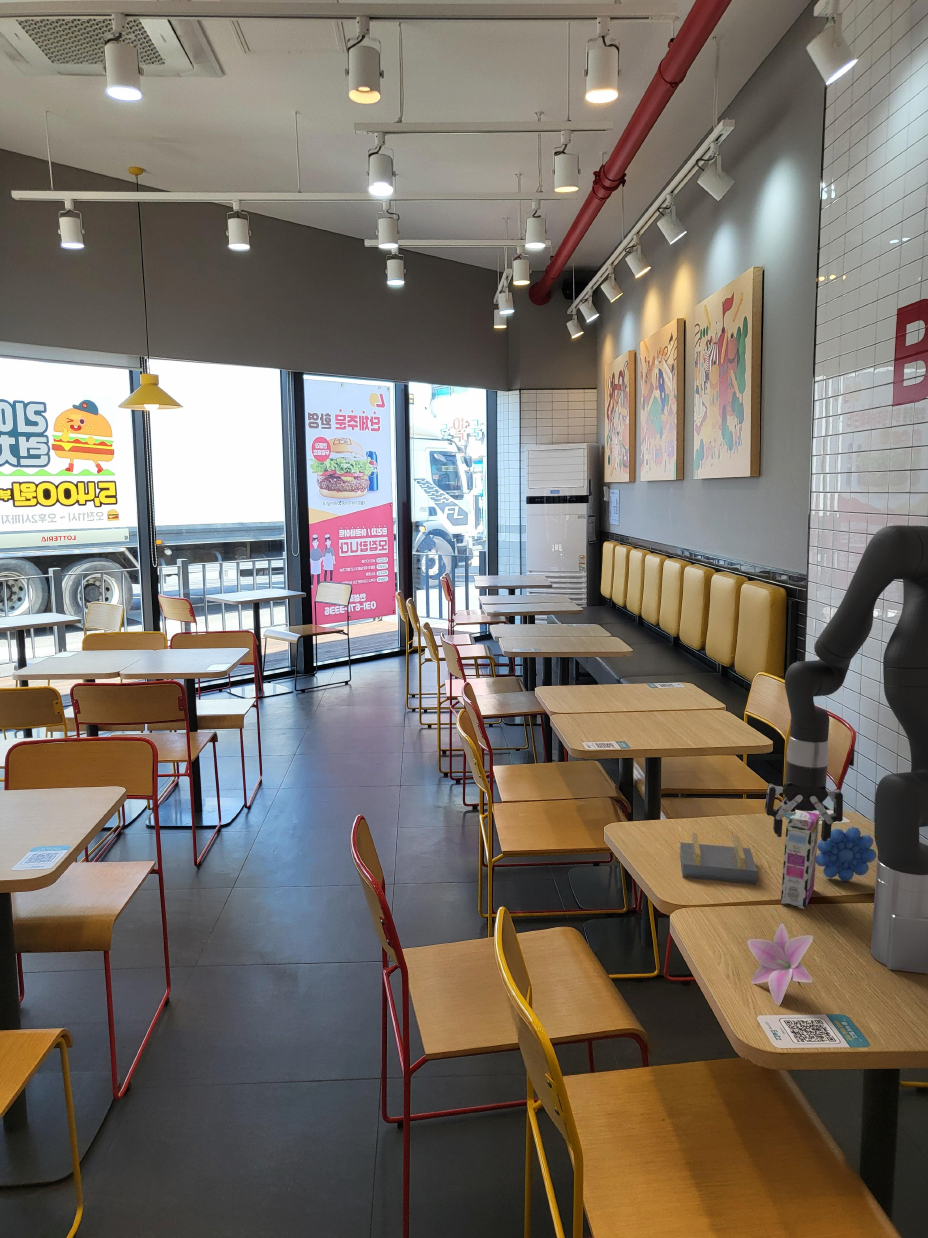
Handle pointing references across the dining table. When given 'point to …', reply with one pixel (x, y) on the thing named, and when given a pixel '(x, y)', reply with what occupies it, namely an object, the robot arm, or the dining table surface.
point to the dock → (717, 862)
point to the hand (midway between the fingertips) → (801, 838)
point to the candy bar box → (800, 859)
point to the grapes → (845, 854)
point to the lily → (780, 961)
